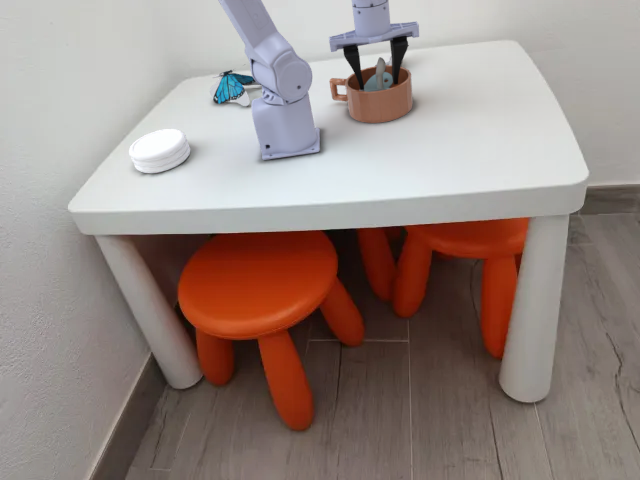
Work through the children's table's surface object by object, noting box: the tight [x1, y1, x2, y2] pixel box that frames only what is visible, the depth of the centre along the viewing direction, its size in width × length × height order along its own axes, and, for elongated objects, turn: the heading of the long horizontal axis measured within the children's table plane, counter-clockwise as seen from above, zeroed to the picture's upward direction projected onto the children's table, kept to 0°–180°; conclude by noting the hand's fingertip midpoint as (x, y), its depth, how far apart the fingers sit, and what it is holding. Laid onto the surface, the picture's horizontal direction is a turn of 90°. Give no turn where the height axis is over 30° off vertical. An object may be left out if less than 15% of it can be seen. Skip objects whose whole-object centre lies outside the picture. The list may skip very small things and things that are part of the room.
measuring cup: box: [329, 65, 414, 124], centre depth 90 cm, size 15×11×6 cm
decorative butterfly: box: [209, 63, 261, 107], centre depth 104 cm, size 10×6×10 cm
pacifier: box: [359, 56, 393, 92], centre depth 87 cm, size 7×6×6 cm
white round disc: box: [128, 128, 191, 174], centre depth 88 cm, size 10×10×4 cm
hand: (378, 84), depth 88 cm, fingers closed on pacifier, 5 cm apart
